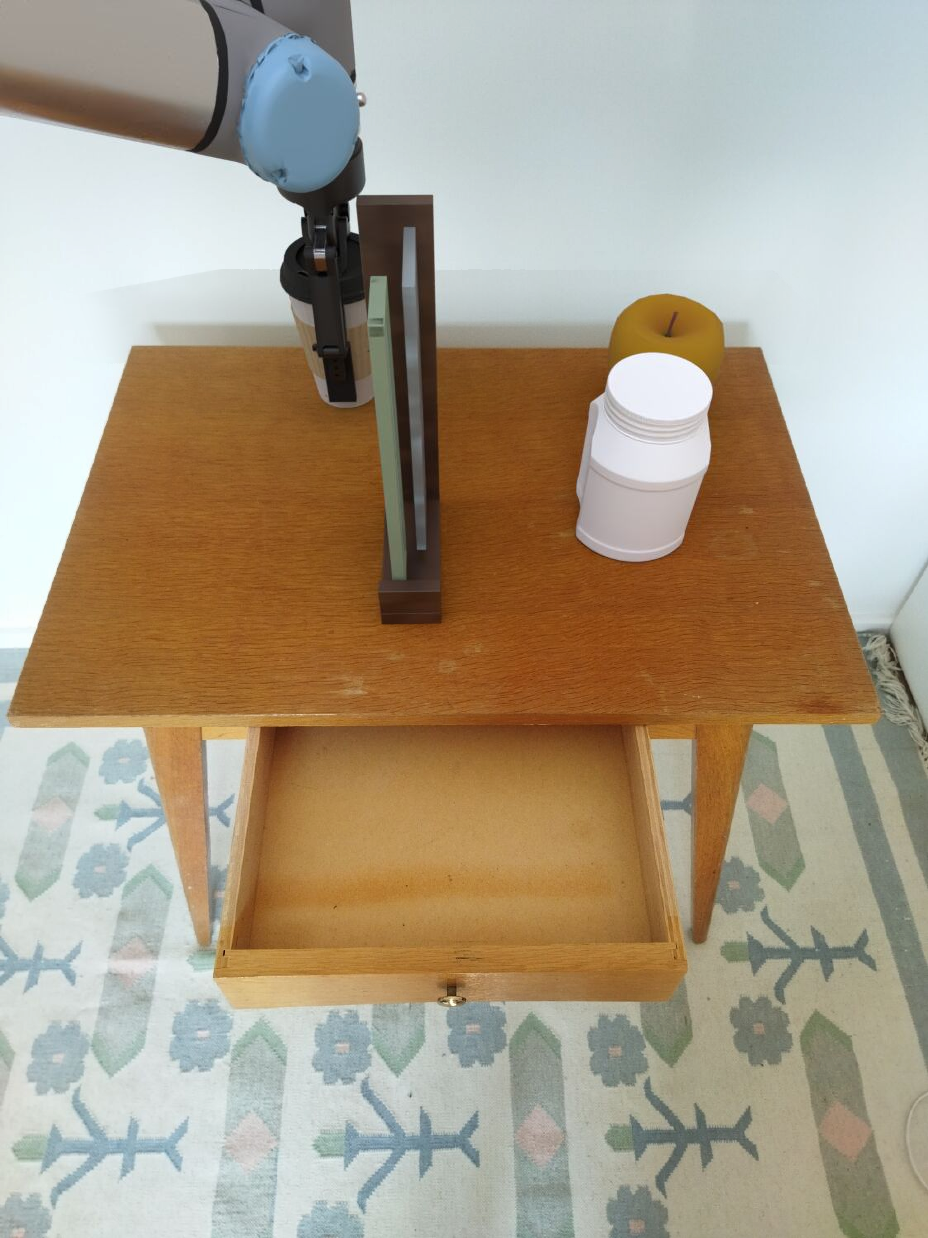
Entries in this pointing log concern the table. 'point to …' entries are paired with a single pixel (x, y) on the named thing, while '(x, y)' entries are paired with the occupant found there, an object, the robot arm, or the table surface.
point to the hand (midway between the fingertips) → (345, 369)
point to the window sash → (387, 421)
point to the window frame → (409, 391)
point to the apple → (669, 332)
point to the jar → (644, 457)
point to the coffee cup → (355, 311)
